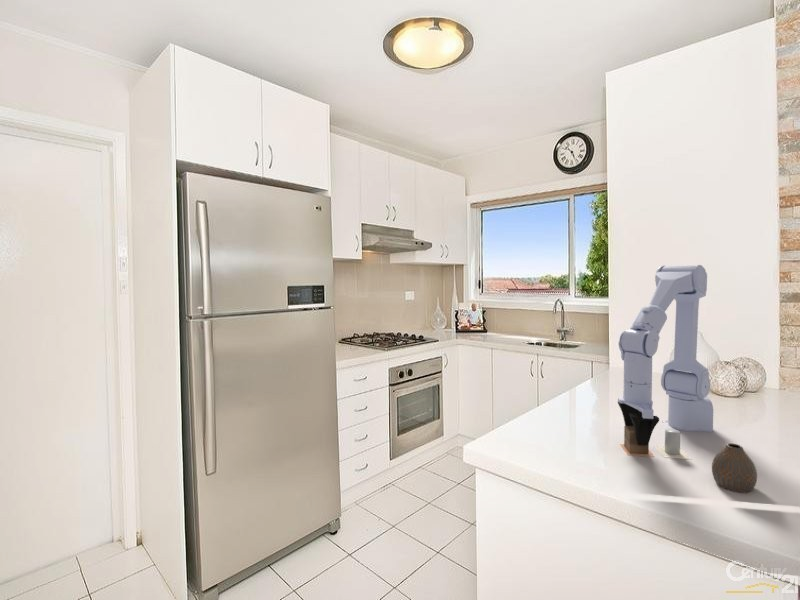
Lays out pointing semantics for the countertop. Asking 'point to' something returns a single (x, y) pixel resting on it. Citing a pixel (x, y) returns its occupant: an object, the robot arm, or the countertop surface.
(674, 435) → the grey peg
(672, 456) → the mat
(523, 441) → the countertop surface
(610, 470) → the countertop surface
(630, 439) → the walnut block
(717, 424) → the countertop surface
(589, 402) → the countertop surface
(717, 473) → the vase
